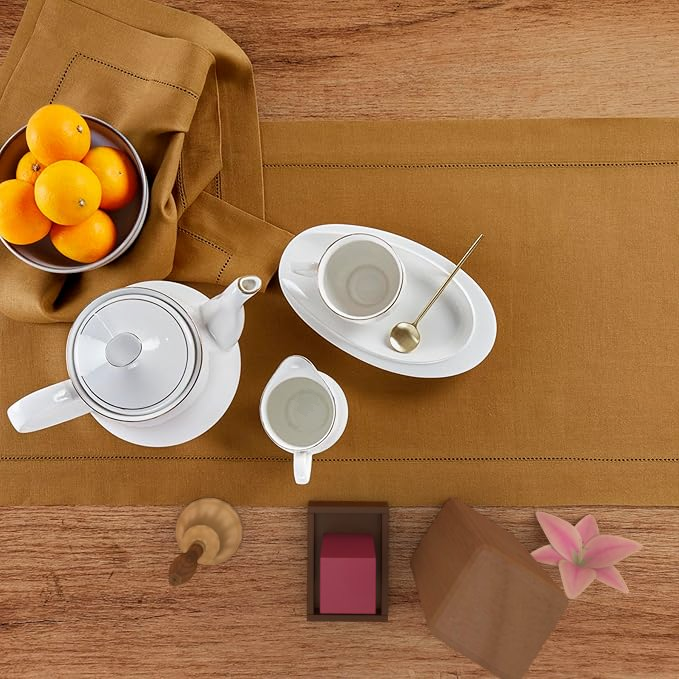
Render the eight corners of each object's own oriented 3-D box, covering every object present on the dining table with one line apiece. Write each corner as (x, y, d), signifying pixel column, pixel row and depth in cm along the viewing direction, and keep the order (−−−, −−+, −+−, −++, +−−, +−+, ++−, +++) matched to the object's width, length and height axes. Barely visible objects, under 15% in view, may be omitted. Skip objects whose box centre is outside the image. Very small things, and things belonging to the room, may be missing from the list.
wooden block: (518, 536, 80) (576, 602, 60) (474, 605, 80) (517, 694, 60) (449, 492, 80) (484, 543, 60) (405, 561, 80) (425, 635, 60)
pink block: (372, 583, 79) (375, 614, 70) (322, 582, 79) (319, 613, 70) (372, 533, 79) (375, 558, 70) (323, 533, 79) (320, 557, 70)
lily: (634, 540, 80) (656, 521, 72) (608, 634, 76) (629, 625, 67) (538, 501, 84) (548, 479, 76) (508, 589, 80) (516, 575, 71)
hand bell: (242, 565, 80) (217, 620, 64) (175, 564, 80) (132, 619, 64) (243, 497, 80) (218, 536, 64) (176, 496, 80) (134, 534, 64)
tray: (386, 612, 80) (388, 622, 77) (308, 611, 80) (306, 621, 77) (387, 501, 80) (388, 507, 77) (308, 500, 80) (307, 506, 77)
